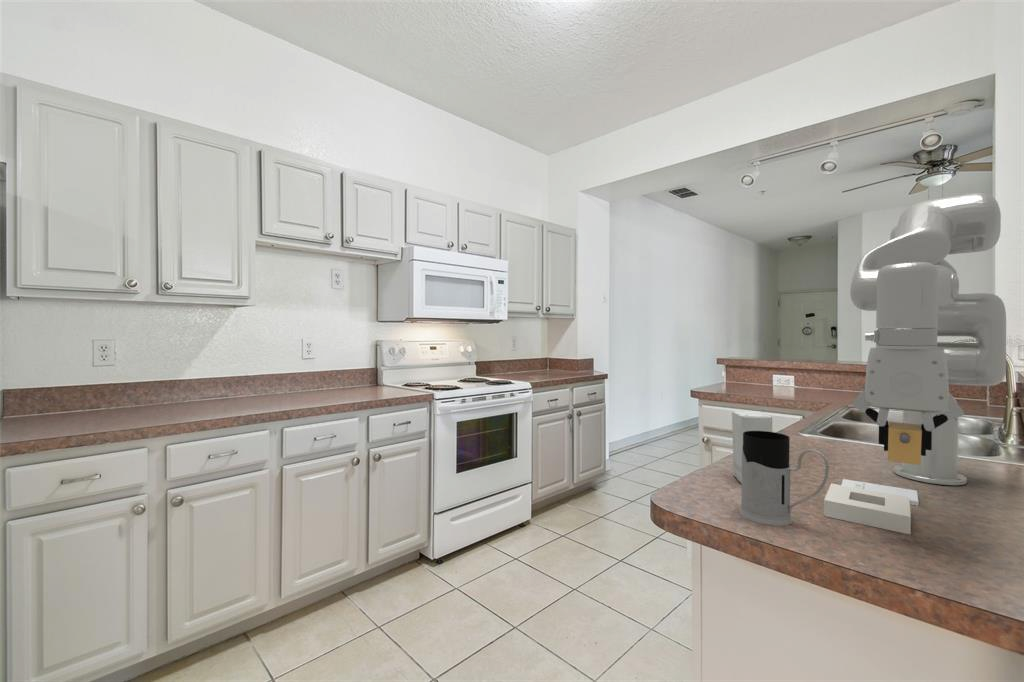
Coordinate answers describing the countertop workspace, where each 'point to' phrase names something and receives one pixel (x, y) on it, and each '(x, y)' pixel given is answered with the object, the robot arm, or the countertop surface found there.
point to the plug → (904, 443)
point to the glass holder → (769, 478)
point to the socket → (868, 508)
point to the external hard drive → (884, 490)
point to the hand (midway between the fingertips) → (904, 450)
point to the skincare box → (741, 425)
